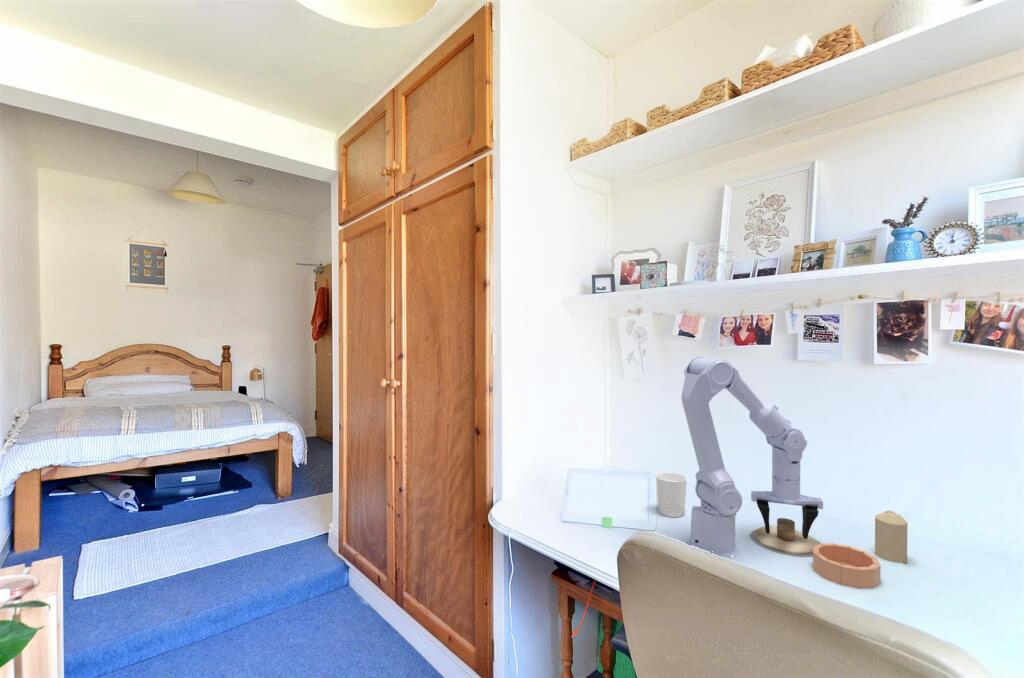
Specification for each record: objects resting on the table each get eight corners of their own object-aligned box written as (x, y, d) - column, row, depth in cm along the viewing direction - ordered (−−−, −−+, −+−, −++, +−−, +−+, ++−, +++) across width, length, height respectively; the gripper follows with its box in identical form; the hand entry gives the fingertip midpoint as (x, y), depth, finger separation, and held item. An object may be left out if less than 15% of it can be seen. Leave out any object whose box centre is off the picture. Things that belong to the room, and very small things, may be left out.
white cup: (689, 519, 124) (689, 482, 124) (658, 517, 126) (658, 480, 126) (683, 508, 132) (683, 472, 132) (654, 506, 134) (654, 471, 133)
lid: (754, 547, 108) (754, 526, 107) (754, 525, 119) (754, 507, 119) (822, 559, 101) (822, 537, 101) (815, 535, 113) (815, 516, 113)
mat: (749, 549, 107) (749, 548, 107) (750, 525, 120) (750, 523, 120) (828, 564, 100) (828, 562, 100) (819, 536, 113) (819, 535, 113)
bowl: (816, 581, 94) (816, 561, 93) (810, 557, 103) (810, 539, 103) (885, 595, 88) (885, 574, 88) (872, 568, 98) (872, 550, 98)
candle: (875, 549, 107) (875, 506, 106) (906, 557, 103) (907, 512, 103) (874, 559, 102) (874, 513, 102) (907, 567, 99) (907, 520, 99)
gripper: (753, 478, 109) (753, 536, 109) (826, 486, 103) (826, 546, 104) (750, 470, 115) (750, 524, 116) (819, 476, 110) (819, 533, 110)
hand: (785, 534), depth 110 cm, fingers open, 7 cm apart
